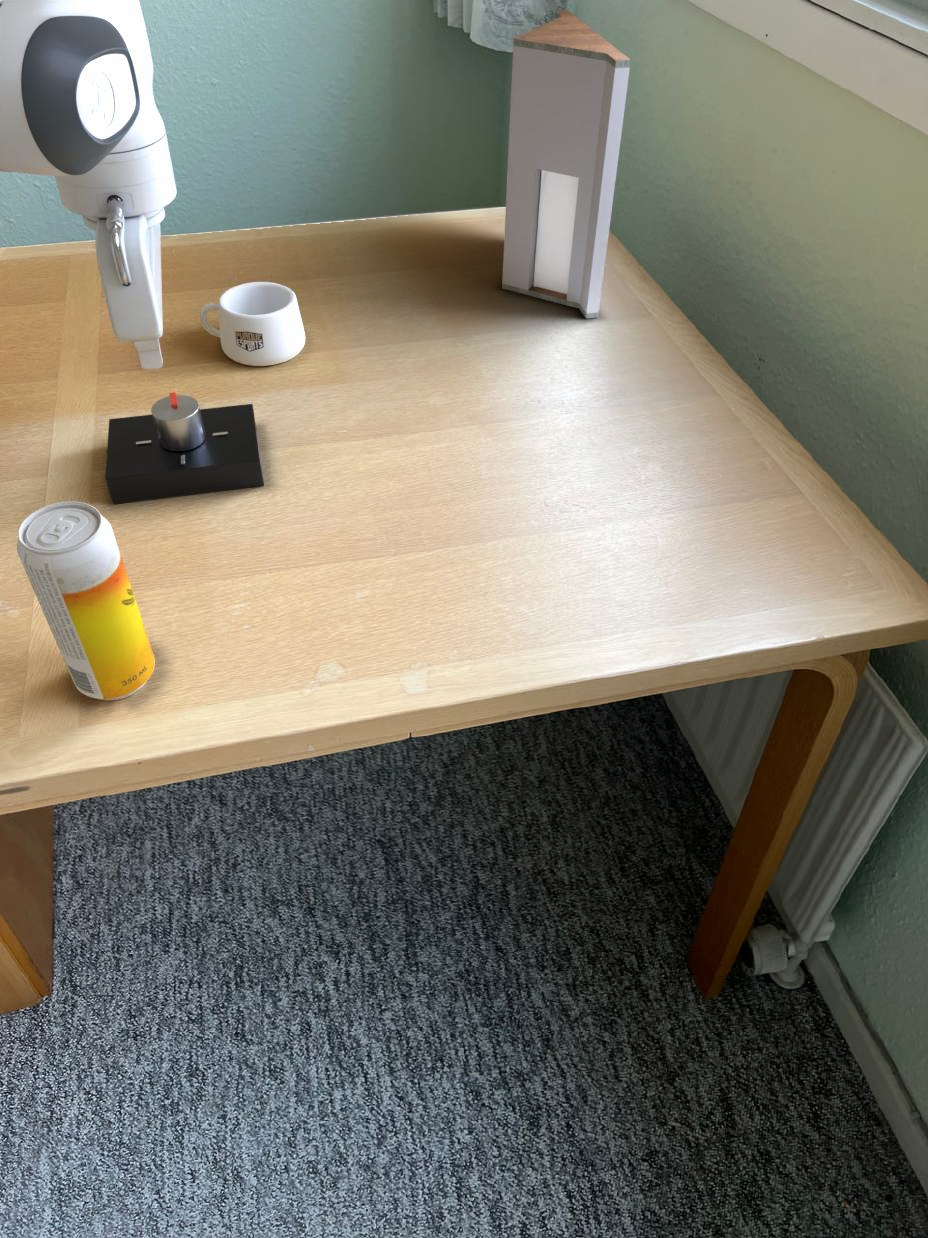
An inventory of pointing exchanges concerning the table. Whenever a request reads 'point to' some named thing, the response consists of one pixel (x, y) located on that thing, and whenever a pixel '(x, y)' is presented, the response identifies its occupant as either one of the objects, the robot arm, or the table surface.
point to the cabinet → (562, 161)
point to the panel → (183, 457)
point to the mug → (258, 323)
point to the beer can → (86, 598)
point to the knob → (178, 422)
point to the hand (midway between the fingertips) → (152, 337)
